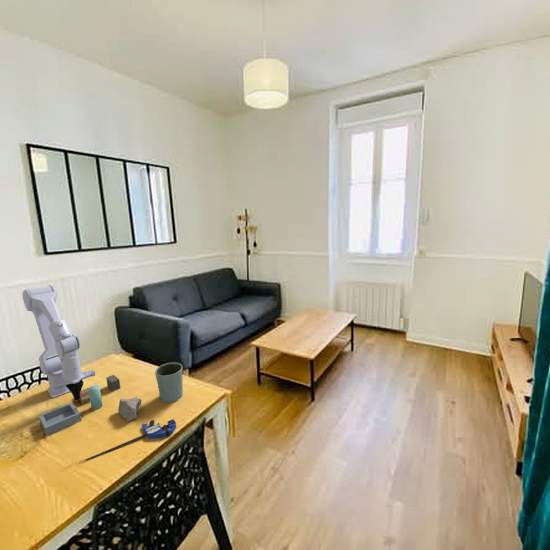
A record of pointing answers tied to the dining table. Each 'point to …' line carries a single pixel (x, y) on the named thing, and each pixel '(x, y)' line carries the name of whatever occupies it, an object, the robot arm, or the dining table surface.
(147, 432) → the bar clamp
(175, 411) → the dining table surface
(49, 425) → the tray
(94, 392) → the dowel
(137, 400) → the stone
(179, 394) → the grey green cup
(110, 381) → the dark grey block
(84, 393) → the tan cardboard box
